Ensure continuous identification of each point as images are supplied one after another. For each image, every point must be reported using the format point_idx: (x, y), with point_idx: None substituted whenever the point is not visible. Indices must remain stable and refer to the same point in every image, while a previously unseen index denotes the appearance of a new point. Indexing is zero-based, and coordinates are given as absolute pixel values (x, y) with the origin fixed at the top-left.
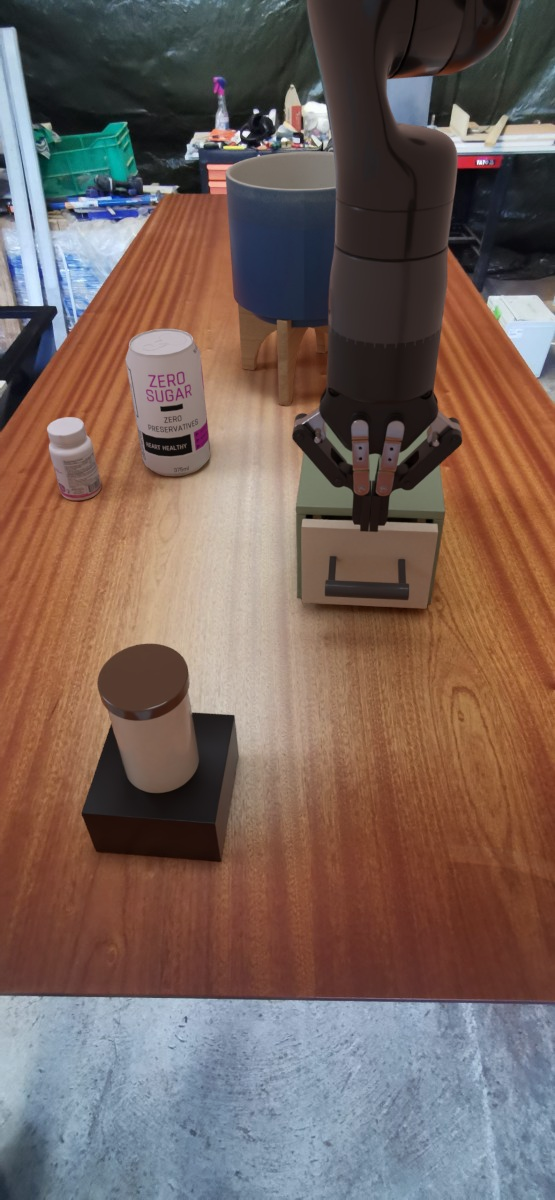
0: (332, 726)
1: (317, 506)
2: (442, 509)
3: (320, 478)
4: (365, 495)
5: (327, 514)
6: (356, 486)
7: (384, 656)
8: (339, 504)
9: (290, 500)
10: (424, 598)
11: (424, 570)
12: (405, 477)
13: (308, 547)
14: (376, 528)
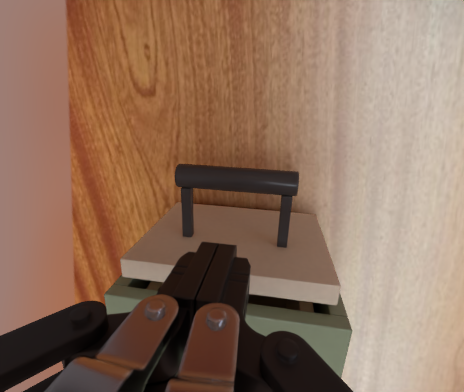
0: (288, 21)
1: (311, 325)
2: (108, 298)
3: None
4: (210, 303)
5: (292, 310)
6: (230, 327)
7: (224, 139)
8: (271, 326)
9: None
10: (175, 208)
11: (163, 226)
12: (72, 335)
13: (321, 259)
14: (203, 245)
